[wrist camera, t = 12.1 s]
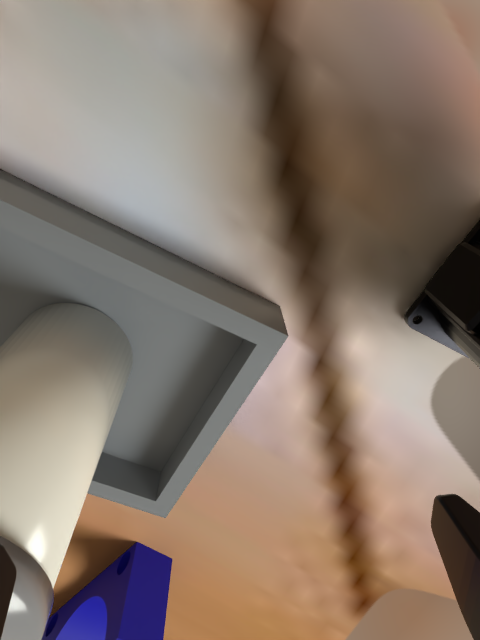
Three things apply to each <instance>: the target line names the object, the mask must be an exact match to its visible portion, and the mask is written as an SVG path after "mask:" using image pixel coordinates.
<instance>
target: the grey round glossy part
mask: <svg viewBox="0 0 480 640" xmlns="http://www.w3.org/2000/svg"><path fill="white" fill-rule="evenodd" d="M132 364H133V354H132V349H131V345H130V343H129V340H128V338H127V336H126V335H125V333H124V332H123V330H122V329H121V328H120V327H119V326H118V325H117V324H116V323H115V322H114V321H113V320H112V319H111V318H109V317H108V316H106V315H105V314H103V313H102V312H100V311H98V310H96V309H93V308H91V307H88V306H84V305H80V304H74V303H57V304H51V305H47V306H45V307H42V308H40V309H38V310H36V311H34V312H33V313H32V314H30V315H29V316H28V317H27V318H26V319H25V320H24V322H23V323H22V324H21V325H20V326H19V327H18V328H17V329H16V330H15V331H14V333H13V334H12V335H11V336H10V337H9V338H8V339H7V340H6V341H5V342H4V344H3V345H2V346H1V347H0V544H2V545H3V546H4V547H5V549H6V550H7V552H8V554H9V555H10V557H11V559H12V561H13V562H14V564H15V566H16V570H17V575H16V581H15V585H14V589H13V593H12V597H11V601H10V605H9V609H8V613H7V617H6V621H5V625H4V629H3V633H2V637H1V640H41V639H42V636H43V633H44V631H45V628H46V625H47V622H48V619H49V616H50V613H51V610H52V607H53V602H54V591H53V588H54V585H55V582H56V579H57V576H58V574H59V571H60V568H61V565H62V562H63V560H64V557H65V554H66V551H67V548H68V546H69V543H70V540H71V537H72V534H73V531H74V529H75V526H76V523H77V520H78V517H79V515H80V512H81V509H82V506H83V503H84V501H85V498H86V495H87V492H88V489H89V487H90V484H91V481H92V478H93V475H94V473H95V470H96V467H97V464H98V461H99V459H100V456H101V453H102V450H103V447H104V445H105V442H106V439H107V436H108V433H109V431H110V428H111V425H112V422H113V419H114V417H115V414H116V411H117V408H118V405H119V402H120V400H121V397H122V394H123V391H124V388H125V386H126V383H127V380H128V377H129V374H130V372H131V368H132Z"/></svg>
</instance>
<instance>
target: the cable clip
mask: <svg viewBox="0 0 480 640" xmlns="http://www.w3.org/2000/svg"><path fill="white" fill-rule="evenodd" d="M171 565H172V559H171V558H169V557H167V556H165V555H163V554H161V553H159V552H157V551H155V550H153V549H151V548H149V547H147V546H145V545H143V544H141V543H139V542H136V543H135V544H134V545H133V546H132V547H130V548H129V549H128V550H127V551H126V552H125V553H123V554H122V555H121V556H120V557H119V558H118V559H117V560H115V561H114V562H113V563H112V564H111V565H110V566H109V567H107V568H106V569H105V570H104V571H103V572H102V573H100V574H99V575H98V576H97V577H96V578H95V579H94V580H92V581H91V582H90V583H89V584H88V585H87V586H85V587H84V588H83V589H82V590H81V591H80V592H79V593H77V594H76V595H75V596H74V597H73V598H72V599H71V600H69V601H68V602H67V603H66V604H65V605H64V606H62V607H61V608H60V609H59V610H58V611H57V612H56V613H54V614H53V615H52V616H51V617H49V619H48V622H47V625H46V628H45V631H44V633H43V636H42V639H41V640H163V636H164V627H165V618H166V609H167V600H168V592H169V583H170V574H171Z"/></svg>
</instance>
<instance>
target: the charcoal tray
mask: <svg viewBox="0 0 480 640" xmlns="http://www.w3.org/2000/svg"><path fill="white" fill-rule="evenodd" d="M57 303H74V304H80V305H84V306H88V307H91V308H93V309H96V310H98V311H100V312H102V313H103V314H105V315H106V316H108V317H109V318H111V319H112V320H113V321H114V322H115V323H116V324H117V325H118V326H119V327H120V328H121V329H122V330H123V332H124V333H125V335H126V336H127V338H128V340H129V343H130V345H131V349H132V354H133V364H132V368H131V372H130V374H129V377H128V380H127V383H126V386H125V388H124V391H123V394H122V397H121V400H120V402H119V405H118V408H117V411H116V414H115V417H114V419H113V422H112V425H111V428H110V431H109V433H108V436H107V439H106V442H105V445H104V447H103V450H102V453H101V456H100V459H99V461H98V464H97V467H96V470H95V473H94V475H93V478H92V481H91V484H90V487H89V489H88V492H87V493H88V494H92V495H95V496H98V497H101V498H104V499H107V500H110V501H113V502H117V503H120V504H123V505H126V506H129V507H132V508H135V509H139V510H142V511H145V512H148V513H151V514H154V515H157V516H160V517H164V518H166V517H167V515H168V514H169V512H170V511H171V509H172V508H173V506H174V505H175V503H176V502H177V500H178V499H179V497H180V496H181V494H182V493H183V491H184V490H185V488H186V487H187V486H188V484H189V483H190V481H191V480H192V478H193V477H194V475H195V474H196V472H197V471H198V469H199V468H200V466H201V465H202V463H203V462H204V460H205V459H206V457H207V456H208V454H209V453H210V451H211V450H212V448H213V447H214V445H215V444H216V443H217V441H218V440H219V438H220V437H221V435H222V434H223V432H224V431H225V429H226V428H227V426H228V425H229V423H230V422H231V420H232V419H233V417H234V416H235V414H236V413H237V411H238V410H239V408H240V407H241V405H242V404H243V403H244V401H245V400H246V398H247V397H248V395H249V394H250V392H251V391H252V389H253V388H254V386H255V385H256V383H257V382H258V380H259V379H260V377H261V376H262V374H263V373H264V371H265V370H266V368H267V367H268V365H269V364H270V363H271V361H272V360H273V358H274V357H275V355H276V354H277V352H278V351H279V349H280V348H281V346H282V345H283V343H284V342H285V340H286V339H287V337H288V333H287V330H286V326H285V323H284V319H283V315H282V312H281V308H280V306H278V305H276V304H274V303H272V302H270V301H268V300H266V299H264V298H262V297H260V296H258V295H256V294H253V293H251V292H249V291H247V290H245V289H243V288H241V287H239V286H237V285H235V284H233V283H231V282H229V281H227V280H225V279H223V278H221V277H219V276H217V275H215V274H213V273H211V272H209V271H207V270H205V269H203V268H200V267H198V266H196V265H194V264H192V263H190V262H188V261H186V260H184V259H182V258H180V257H178V256H176V255H174V254H172V253H170V252H168V251H166V250H164V249H162V248H160V247H158V246H156V245H154V244H152V243H150V242H148V241H145V240H143V239H141V238H139V237H137V236H135V235H133V234H131V233H129V232H127V231H125V230H123V229H121V228H119V227H117V226H115V225H113V224H111V223H109V222H107V221H105V220H103V219H101V218H99V217H97V216H95V215H92V214H90V213H88V212H86V211H84V210H82V209H80V208H78V207H76V206H74V205H72V204H70V203H68V202H66V201H64V200H62V199H60V198H58V197H56V196H54V195H52V194H50V193H48V192H46V191H44V190H42V189H39V188H37V187H35V186H33V185H31V184H29V183H27V182H25V181H23V180H21V179H19V178H17V177H15V176H13V175H11V174H9V173H7V172H5V171H3V170H1V169H0V347H1V346H2V345H3V344H4V342H5V341H6V340H7V339H8V338H9V337H10V336H11V335H12V334H13V333H14V331H15V330H16V329H17V328H18V327H19V326H20V325H21V324H22V323H23V322H24V320H25V319H26V318H27V317H28V316H29V315H30V314H32V313H33V312H34V311H36V310H38V309H40V308H42V307H45V306H47V305H51V304H57Z"/></svg>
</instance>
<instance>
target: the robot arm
mask: <svg viewBox="0 0 480 640" xmlns="http://www.w3.org/2000/svg"><path fill="white" fill-rule="evenodd" d="M418 315H419V318H418V319H417V320H415V321H412V320H413V318H414V317H415V316H418ZM405 322H406V323H407V324H408V325H409V326H410V327H411V328H412V329H414V330H416V331H418V332H420V333H422V334H424V335H426V336H428V337H430V338H431V339H433V340H435V341H437V342H439V343H441V344H443V345H445V346H447V347H449V348H451V349H452V350H454V351H456V352H458V353H460V354H462V355H464V356H466V357H468V358H470V359H471V360H472V361H473V362H474V363H475V364H476V365H477V366H478V367H479V368H480V220H479V222H478V223H477V224H476V225H475V227H474V228H473V229H472V230H471V232H470V233H469V234H468V236H467V237H466V238H465V239H464V241H463V242H462V243H461V244H459V245H458V246H457V247H456V248H455V250H454V251H453V252H452V253H451V255H450V256H449V257H448V259H447V260H446V261H445V262H444V264H443V265H442V266H441V267H440V269H439V270H438V271H437V272H436V274H435V275H434V276H433V277H432V279H431V280H430V281H429V283H428V284H427V285H426V287H425V290H424V291H423V292H422V294H421V295H420V296H419V297H418V299H417V300H416V301H415V302H414V304H413V305H412V306H411V307H410V309H409V310H408V311H407V312H406V314H405ZM431 528H432V532H433V535H434V538H435V541H436V544H437V546H438V549H439V552H440V555H441V557H442V560H443V563H444V566H445V569H446V571H447V574H448V577H449V580H450V582H451V585H452V588H453V591H454V594H455V596H456V599H457V602H458V604H459V607H460V609H461V612H462V614H463V617H464V619H465V622H466V624H467V626H468V628H469V630H470V632H471V634H472V637H473V639H474V640H480V513H479V512H478V511H477V510H476V509H475V508H473V507H472V506H471V505H470V504H468V503H467V502H466V501H465V500H464V499H462V498H461V497H460V496H458V495H456V494H446V495H438V496H436V497H435V499H434V504H433V511H432V518H431ZM16 575H17V570H16V566H15V564H14V562H13V561H12V559H11V557H10V555H9V554H8V552H7V550H6V549H5V547H4V546H3V545H2V544H0V640H1V637H2V633H3V629H4V625H5V621H6V617H7V613H8V609H9V605H10V601H11V597H12V593H13V589H14V585H15V581H16Z"/></svg>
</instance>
